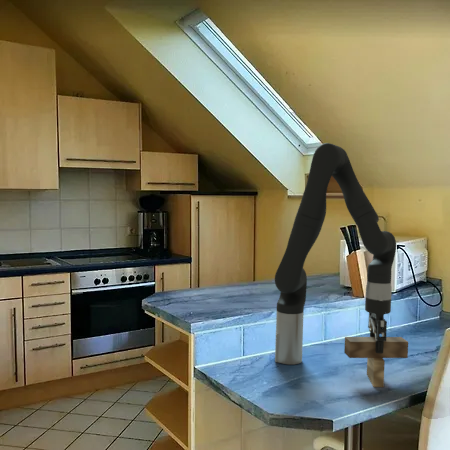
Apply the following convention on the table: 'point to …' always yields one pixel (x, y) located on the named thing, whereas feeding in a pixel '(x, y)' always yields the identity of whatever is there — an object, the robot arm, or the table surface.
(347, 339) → the batten
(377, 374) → the fulcrum
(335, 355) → the table surface
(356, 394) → the table surface
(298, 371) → the table surface
